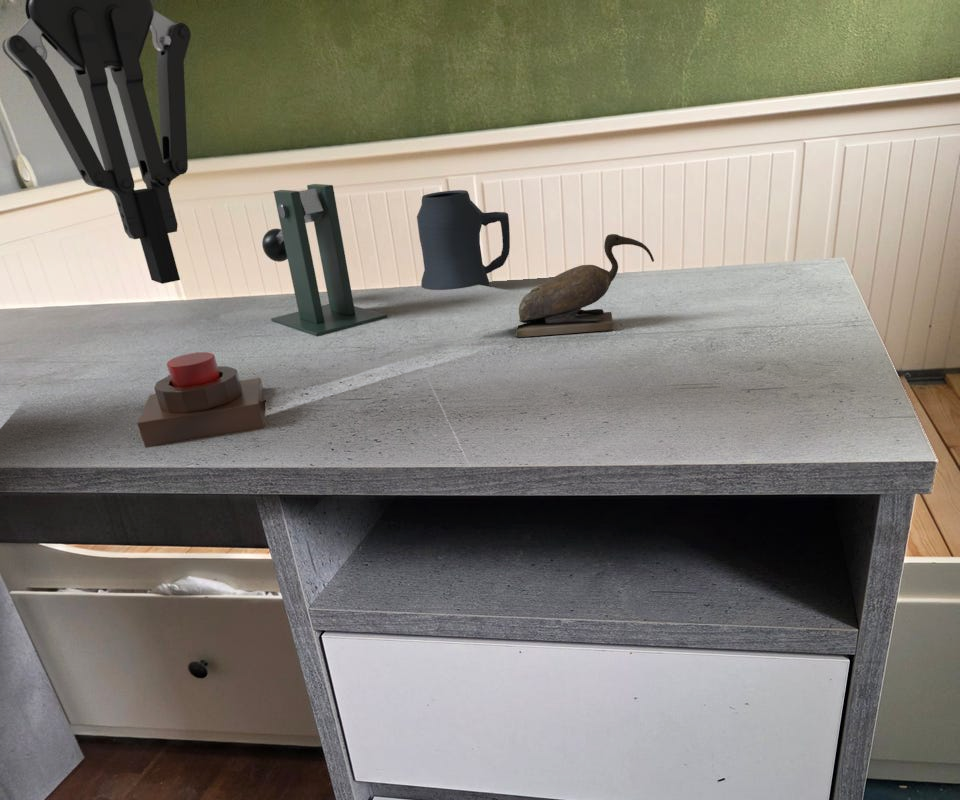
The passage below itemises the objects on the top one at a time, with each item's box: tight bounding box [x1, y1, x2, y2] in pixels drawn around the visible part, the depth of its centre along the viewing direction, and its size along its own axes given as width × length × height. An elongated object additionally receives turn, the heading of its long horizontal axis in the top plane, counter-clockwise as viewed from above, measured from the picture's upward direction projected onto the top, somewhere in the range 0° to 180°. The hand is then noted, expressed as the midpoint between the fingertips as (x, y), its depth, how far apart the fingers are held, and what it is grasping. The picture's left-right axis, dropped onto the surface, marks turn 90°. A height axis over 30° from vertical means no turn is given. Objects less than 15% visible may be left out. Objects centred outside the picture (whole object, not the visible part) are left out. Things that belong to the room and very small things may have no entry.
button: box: [166, 351, 220, 387], centre depth 75 cm, size 4×4×2 cm
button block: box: [137, 365, 267, 448], centre depth 76 cm, size 10×8×4 cm
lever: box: [262, 188, 323, 263], centre depth 100 cm, size 14×4×4 cm, turn 36°
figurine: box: [515, 233, 655, 338], centre depth 89 cm, size 14×4×9 cm, turn 84°
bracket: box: [270, 183, 388, 337], centre depth 98 cm, size 12×9×15 cm
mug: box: [416, 189, 511, 291], centre depth 109 cm, size 12×9×11 cm
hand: (165, 279), depth 71 cm, fingers closed
